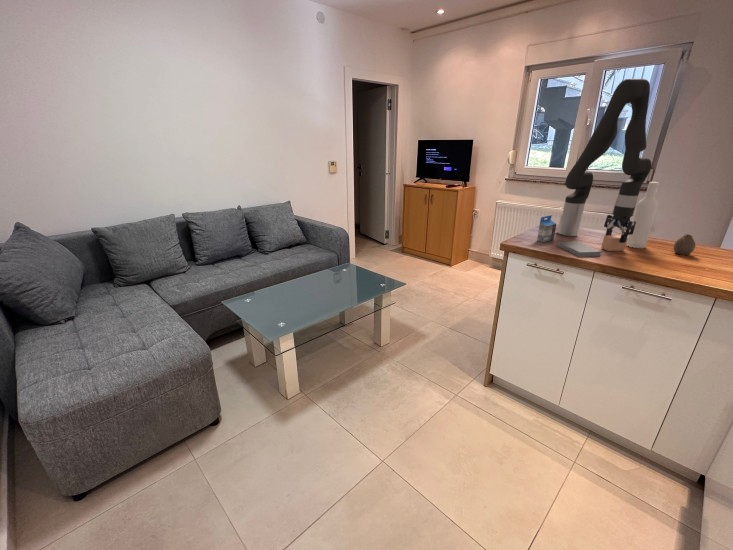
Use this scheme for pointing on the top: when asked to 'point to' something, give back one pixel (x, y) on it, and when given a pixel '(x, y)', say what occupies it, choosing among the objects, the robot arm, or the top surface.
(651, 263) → the top surface
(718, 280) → the top surface
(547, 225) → the label tape box
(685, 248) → the grey pear shaped lump
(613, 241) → the tan rectangular block
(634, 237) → the bottle
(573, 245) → the board
